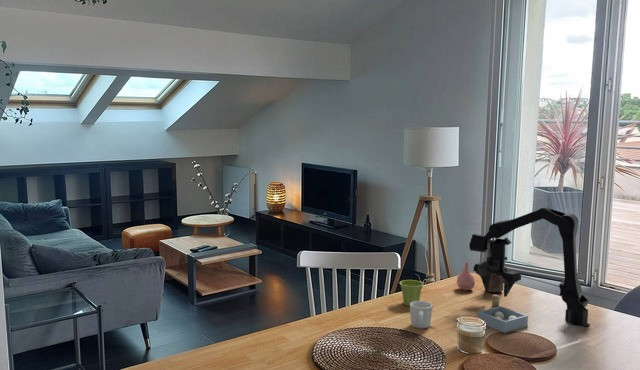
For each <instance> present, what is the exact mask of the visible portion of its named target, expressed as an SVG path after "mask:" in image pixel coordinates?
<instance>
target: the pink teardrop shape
mask: <svg viewBox="0 0 640 370" xmlns="http://www.w3.org/2000/svg"><path fill="white" fill-rule="evenodd" d="M456 284H457V287H458V288H459V289H462V290H463V289H464V290H463V291H465V290H468V291H469V290H473V289H474V287H475V284H476V280H475V277H474V275H472V273H471V271H470V269H469V262H464V268H463V269H462V272H461V273H459V274H458V275H457V279H456Z"/></svg>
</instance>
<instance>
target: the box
mask: <svg viewBox="0 0 640 370" xmlns="http://www.w3.org/2000/svg"><path fill="white" fill-rule="evenodd" d="M496 312H502V313H503V314H504V319H503V320H501V319H498V318H496V317H495V313H496ZM510 316H515V317H517V318H514V319H510V320H508V318H509V317H510ZM478 317H479V318H481V319H483V320H485V322H486V325H485V326H487V327H490V328H492V329H494V330H497V331H500V332H502V333H509V332H511V331H516V330H519V329H522V328H525V327H528V321H529V315H527V314H524V313H521V312H518V311H516V310H514V309H513V310H512V309H510V308H508V307H504V306H502V305H499V307H491V308H487V309H484V310H479V311H477V318H478Z"/></svg>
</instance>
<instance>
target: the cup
mask: <svg viewBox="0 0 640 370" xmlns="http://www.w3.org/2000/svg"><path fill="white" fill-rule="evenodd" d="M409 311H410V313H409V315H410V323H411V325H412V327H414V328H417V329H427V328H429V327H430V325H431V322H432V315H433V314H432V313H433V304H432V302H429V301H425V300H424V301H423V300H419V301H414V302H411V303H410V305H409Z"/></svg>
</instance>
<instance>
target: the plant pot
mask: <svg viewBox="0 0 640 370" xmlns="http://www.w3.org/2000/svg"><path fill="white" fill-rule="evenodd" d="M399 285H400V288H401V294H402V302H403V305H405V306H407V307H408V306H410V303H411V302H414V301H421V300H420V298H421V294H422V289H423V286H424V282H423V281H419V280H415V279H414V280H413V279H406V280H405V279H403V280H401V281H399Z"/></svg>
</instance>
